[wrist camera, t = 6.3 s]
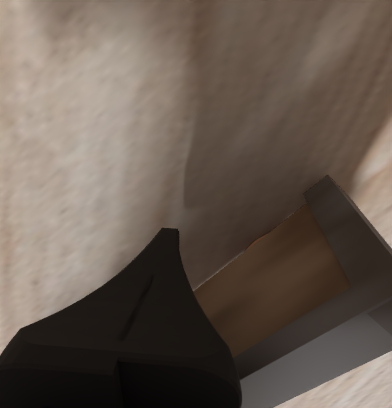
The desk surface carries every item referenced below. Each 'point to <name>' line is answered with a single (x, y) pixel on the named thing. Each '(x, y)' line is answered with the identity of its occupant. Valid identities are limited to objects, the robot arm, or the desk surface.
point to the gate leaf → (304, 300)
